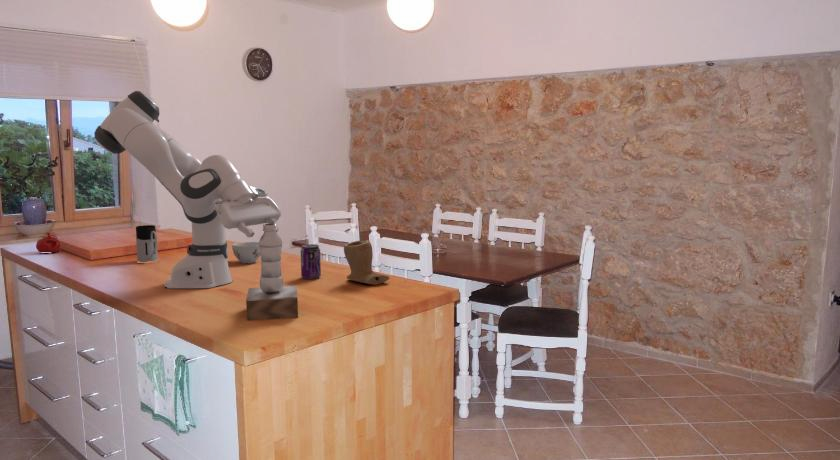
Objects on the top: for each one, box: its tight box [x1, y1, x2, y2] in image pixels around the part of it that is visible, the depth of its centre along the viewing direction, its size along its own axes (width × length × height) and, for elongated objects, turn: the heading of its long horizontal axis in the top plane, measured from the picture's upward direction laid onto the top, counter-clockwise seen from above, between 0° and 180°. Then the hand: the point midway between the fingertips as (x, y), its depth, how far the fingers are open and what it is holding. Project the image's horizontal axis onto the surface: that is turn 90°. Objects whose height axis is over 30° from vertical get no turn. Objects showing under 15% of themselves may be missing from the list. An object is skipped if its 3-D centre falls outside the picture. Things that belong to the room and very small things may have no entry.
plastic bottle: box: [258, 223, 284, 293], centre depth 177 cm, size 6×7×20 cm
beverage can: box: [300, 243, 322, 280], centre depth 225 cm, size 7×7×12 cm
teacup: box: [231, 241, 261, 264], centre depth 255 cm, size 15×12×8 cm
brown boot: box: [343, 239, 390, 286], centre depth 217 cm, size 15×12×15 cm
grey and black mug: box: [135, 224, 159, 262], centre depth 254 cm, size 9×14×15 cm, turn 46°
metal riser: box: [245, 285, 299, 321], centre depth 179 cm, size 14×14×6 cm
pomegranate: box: [35, 232, 61, 253], centre depth 279 cm, size 10×10×9 cm
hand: (264, 233), depth 179 cm, fingers open, 8 cm apart
